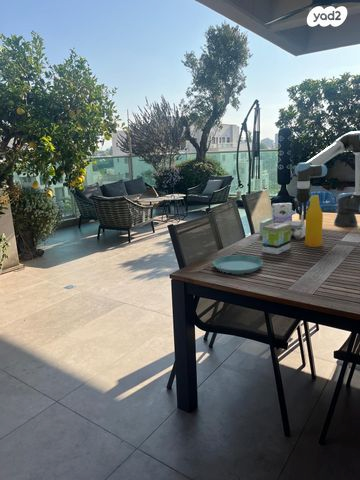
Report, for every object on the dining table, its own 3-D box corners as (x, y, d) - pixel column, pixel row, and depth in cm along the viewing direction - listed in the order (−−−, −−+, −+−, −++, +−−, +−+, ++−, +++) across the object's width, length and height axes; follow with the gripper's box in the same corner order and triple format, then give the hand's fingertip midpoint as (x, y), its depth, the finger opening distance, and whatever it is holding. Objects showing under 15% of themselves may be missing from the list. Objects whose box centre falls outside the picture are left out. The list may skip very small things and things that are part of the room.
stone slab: (304, 225, 229) (304, 221, 228) (297, 229, 218) (297, 225, 217) (286, 224, 236) (286, 220, 235) (279, 228, 225) (279, 224, 224)
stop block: (272, 231, 244) (273, 218, 241) (264, 236, 231) (264, 222, 229) (268, 231, 245) (268, 218, 243) (259, 236, 233) (259, 222, 231)
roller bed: (310, 234, 229) (310, 225, 228) (302, 240, 216) (303, 230, 215) (290, 233, 236) (290, 224, 235) (282, 238, 224) (282, 229, 223)
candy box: (290, 223, 267) (290, 202, 263) (292, 225, 261) (292, 203, 257) (272, 224, 268) (272, 203, 264) (273, 225, 263) (273, 204, 259)
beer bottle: (324, 244, 204) (326, 195, 197) (317, 247, 197) (319, 197, 190) (308, 242, 210) (310, 194, 203) (302, 245, 203) (303, 196, 197)
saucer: (211, 262, 184) (211, 256, 183) (257, 259, 183) (257, 253, 182) (215, 277, 160) (215, 270, 160) (267, 275, 160) (267, 268, 159)
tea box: (278, 254, 189) (278, 228, 185) (262, 252, 195) (262, 226, 192) (290, 248, 199) (291, 223, 196) (274, 246, 206) (275, 221, 202)
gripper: (315, 187, 216) (314, 224, 222) (294, 187, 224) (294, 223, 229) (312, 188, 210) (311, 226, 216) (290, 188, 218) (290, 225, 223)
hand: (302, 224), depth 222 cm, fingers closed
